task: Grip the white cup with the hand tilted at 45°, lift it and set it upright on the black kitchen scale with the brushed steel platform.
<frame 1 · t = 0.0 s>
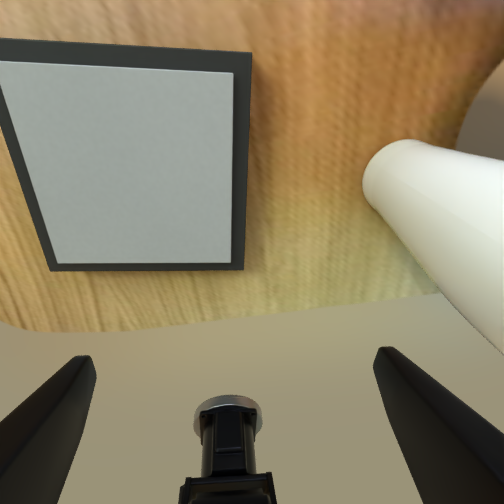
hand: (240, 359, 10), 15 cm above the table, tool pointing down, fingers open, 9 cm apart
white cup: (393, 174, 23), on the table
scale: (142, 169, 21), on the table
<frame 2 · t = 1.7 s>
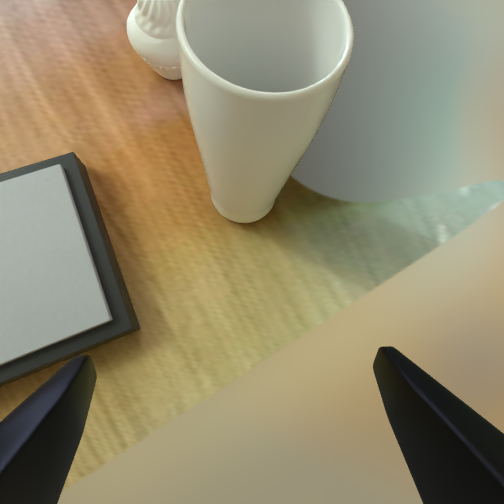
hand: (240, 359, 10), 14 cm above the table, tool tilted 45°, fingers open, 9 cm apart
white cup: (242, 196, 26), on the table
scale: (15, 276, 23), on the table
muffin: (173, 67, 29), on the table
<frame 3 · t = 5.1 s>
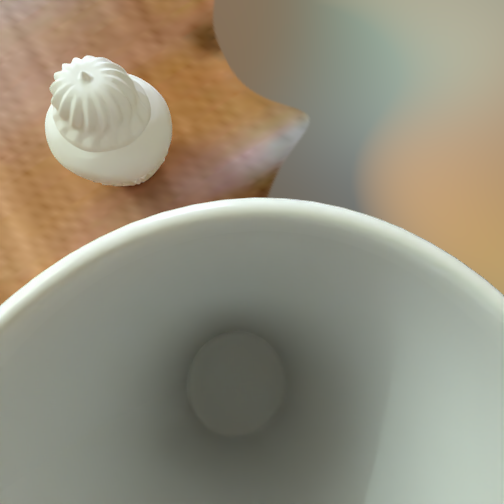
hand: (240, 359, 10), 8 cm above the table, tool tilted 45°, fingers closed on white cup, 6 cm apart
white cup: (235, 377, 17), on the table, touching gripper
muffin: (131, 164, 19), on the table
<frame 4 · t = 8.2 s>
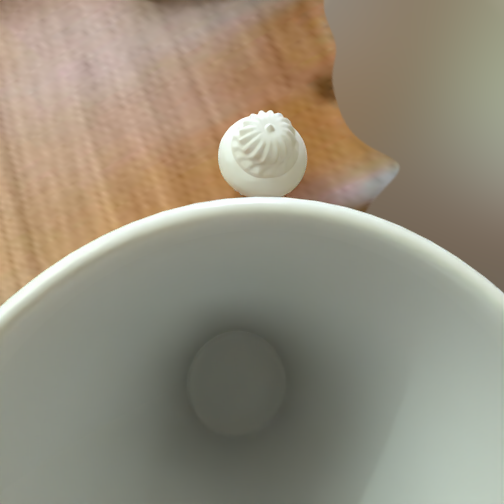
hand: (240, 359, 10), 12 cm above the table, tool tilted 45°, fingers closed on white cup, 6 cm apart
white cup: (236, 377, 17), point 5 cm above the table, touching gripper
muffin: (257, 181, 25), on the table
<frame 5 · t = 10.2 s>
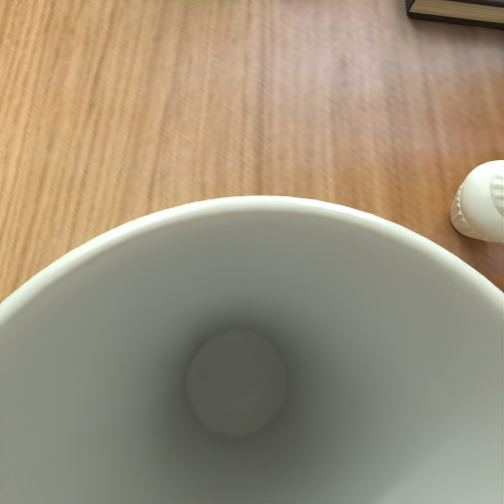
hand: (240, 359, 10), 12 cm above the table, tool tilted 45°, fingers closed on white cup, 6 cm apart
white cup: (235, 376, 17), point 4 cm above the table, touching gripper
muffin: (465, 219, 26), on the table
when the fingers open (10 cm above the table, at t = 11.6 s): white cup stays where it is, resting on scale.
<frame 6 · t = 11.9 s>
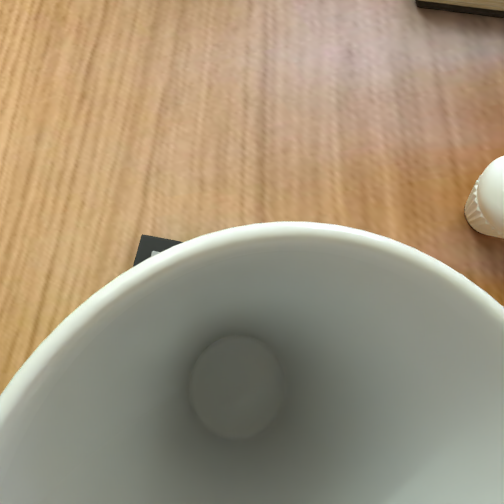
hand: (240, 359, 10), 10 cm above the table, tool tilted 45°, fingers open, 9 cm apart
white cup: (235, 380, 17), point 2 cm above the table, touching gripper, scale
scale: (232, 368, 20), on the table
muffin: (481, 216, 24), on the table
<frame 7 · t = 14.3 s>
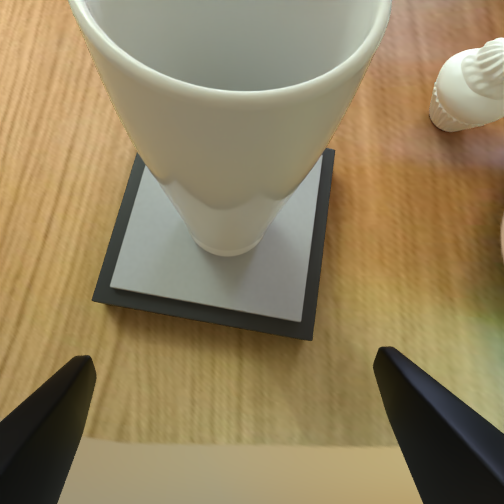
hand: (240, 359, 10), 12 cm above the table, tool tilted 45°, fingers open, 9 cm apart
white cup: (227, 220, 21), point 2 cm above the table, touching scale
scale: (225, 227, 23), on the table
muffin: (444, 117, 28), on the table
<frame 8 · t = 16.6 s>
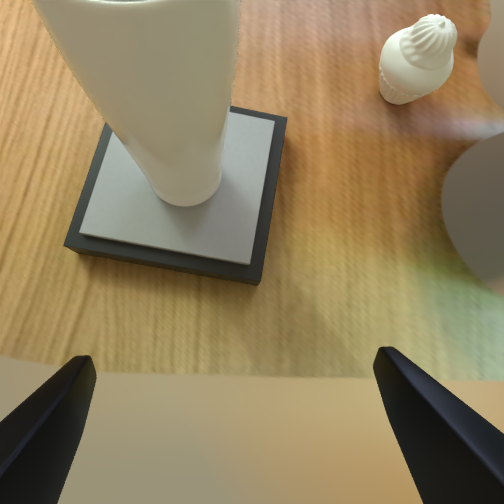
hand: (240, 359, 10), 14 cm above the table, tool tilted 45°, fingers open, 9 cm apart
white cup: (186, 177, 23), point 2 cm above the table, touching scale
scale: (188, 187, 26), on the table
muffin: (393, 92, 30), on the table
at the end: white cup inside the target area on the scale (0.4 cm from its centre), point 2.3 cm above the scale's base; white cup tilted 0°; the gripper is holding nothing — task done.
